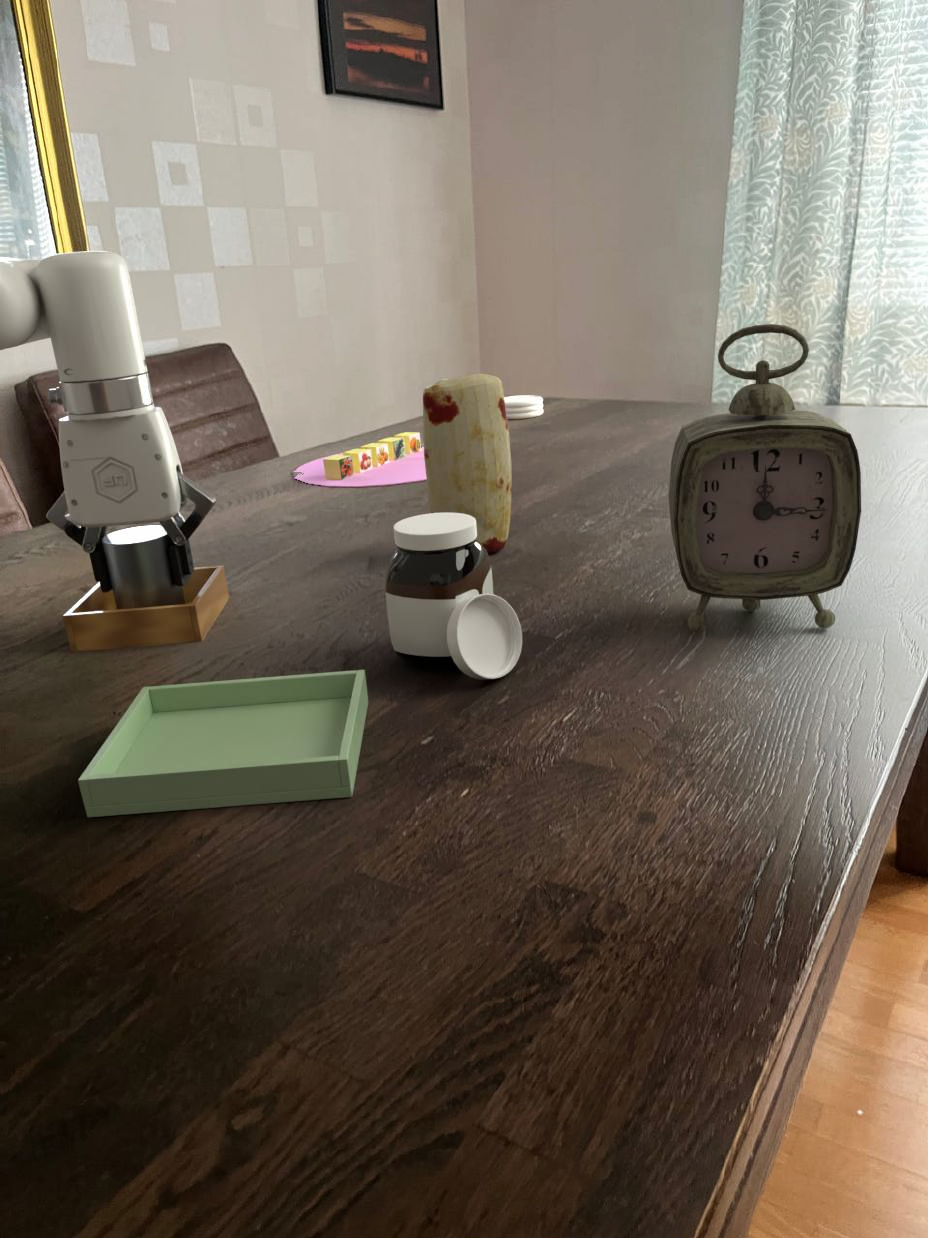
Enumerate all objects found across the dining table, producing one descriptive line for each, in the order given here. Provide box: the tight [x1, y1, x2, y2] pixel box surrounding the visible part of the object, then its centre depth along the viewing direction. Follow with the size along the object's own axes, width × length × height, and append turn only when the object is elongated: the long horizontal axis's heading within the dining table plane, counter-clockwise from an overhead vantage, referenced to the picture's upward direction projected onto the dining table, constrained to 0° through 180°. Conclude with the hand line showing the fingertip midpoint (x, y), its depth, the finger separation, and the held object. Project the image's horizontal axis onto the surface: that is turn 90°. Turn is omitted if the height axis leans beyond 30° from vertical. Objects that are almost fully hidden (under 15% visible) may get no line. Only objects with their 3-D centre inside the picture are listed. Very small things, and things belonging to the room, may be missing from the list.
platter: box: [293, 431, 427, 488], centre depth 162 cm, size 32×32×3 cm
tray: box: [77, 669, 369, 818], centre depth 68 cm, size 17×14×3 cm
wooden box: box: [62, 564, 230, 653], centre depth 94 cm, size 12×12×4 cm
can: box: [102, 524, 186, 610], centre depth 93 cm, size 6×6×9 cm
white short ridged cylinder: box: [504, 394, 544, 420], centre depth 199 cm, size 10×10×4 cm
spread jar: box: [384, 512, 523, 681], centre depth 80 cm, size 12×11×12 cm
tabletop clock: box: [668, 323, 862, 632], centre depth 81 cm, size 14×9×25 cm, turn 82°
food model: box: [422, 373, 513, 554], centre depth 107 cm, size 10×7×20 cm
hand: (146, 583), depth 94 cm, fingers closed on can, 6 cm apart
